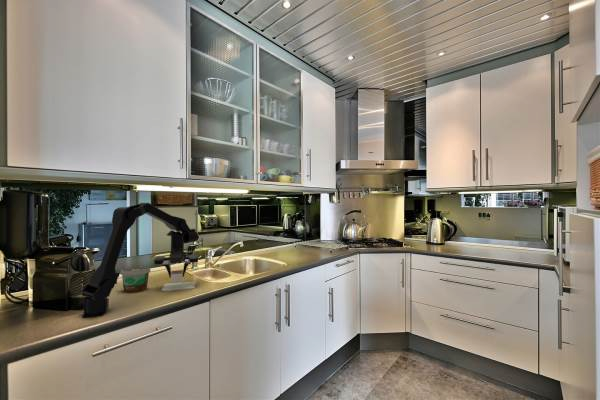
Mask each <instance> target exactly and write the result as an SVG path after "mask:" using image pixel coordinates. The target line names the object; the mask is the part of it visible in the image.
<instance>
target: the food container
mask: <svg viewBox="0 0 600 400" xmlns="http://www.w3.org/2000/svg"><path fill="white" fill-rule="evenodd" d="M150 272H151V268H150V267H146V268H144V269H142V268H133V269H125V270H124V269H123V268H121V270H120V272H119V273H120V274H119V275H120V276H121V277H122V280H121V281H122V289H123V292H124V293H129V294H131V293H132V294H134V293H140V292H144V291H145V290H147V289H148V281H149V275H150Z"/></svg>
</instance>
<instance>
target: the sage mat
mask: <svg viewBox="0 0 600 400" xmlns="http://www.w3.org/2000/svg"><path fill="white" fill-rule="evenodd" d="M195 287H196V281H185V282H183V281H182V282H179V283H171V282H170V283H164V284H163V286H162V289H161V292H170V291H171V292H172V291H184V290H192V289H193V290H194V289H195Z"/></svg>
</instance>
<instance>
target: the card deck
mask: <svg viewBox="0 0 600 400" xmlns="http://www.w3.org/2000/svg"><path fill="white" fill-rule="evenodd" d="M183 278H184V277H183V269H178V270H171V278H170V283H183Z"/></svg>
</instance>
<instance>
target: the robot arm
mask: <svg viewBox="0 0 600 400" xmlns="http://www.w3.org/2000/svg"><path fill="white" fill-rule="evenodd" d="M145 214H146V215H148V216H149V217H152V218H154V219H156V220H158V221H159V222H162V223H163V224H165V226H166V227H167V228H169V230H170V231H169V232H168V233H167V234H166V236H167V237H168V236H170V252H169V257H166V255H159V256H156V257H155V258H154V263H153V264H154V265H161V266H162V267H165V268H166V271H167V273H168V276H169V279H171V271H172V266H171V265H172V264H181V263H182V262H184V263H183V268H182V270H183V278H184V277H185V274H186V270H187V269H188V266H189V265H192V263H198V262H199V255H198V254H189V256H187V251H185V244H190V243H196V242H198V240H199V234H198V231H196V228H190V226H189V225H188V223H187V220H186V219H185V218H183V217H178V216H174V215H172V214H169V213H167V212H166V211H163V210H162V209H160V208H158V207H156V206H154V205H153V204H151V203H150V202H139V203H138V204H134V205H129V206H120V207H117V208H115V209H114V210H113V213H112V220H111V222H112V223H111V224H112V231H111V234H110V236H109V239H108V242H107V246H106V248H105V250H104V254H103V257H102V260H101V262H100V265H99V266H98V267H97V268H96V269H95V270H94V272H93V273H92V275H91V277H90V278H89V280H88V283H87V284H86V285H85V286H84V287H83V288H82V289H81V290H80V294H81V296H82V297H84V298H83V314H82V315H81V318H90V317H92V318H93V317H101V316H104V315H105V314H106V312H108V310H109V307H110V306H109V305H110V304H109V303H110V300H109V299H110V298H109V297H110V296H111V292H112V290H113V289H114V288H115V285H117V284H118V278H119V277H120V275H121V274H120V273H121V272H118V271H116V266H117V264H118V260H119V257H120V253H121V251H122V248H123V244H124V241H125V239H126V236H127V233H128V230H129V229H130V228H131V227H132V226H133V225H134V224H135V222H136V220H137V218H139V217H141V216H144V215H145Z"/></svg>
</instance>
